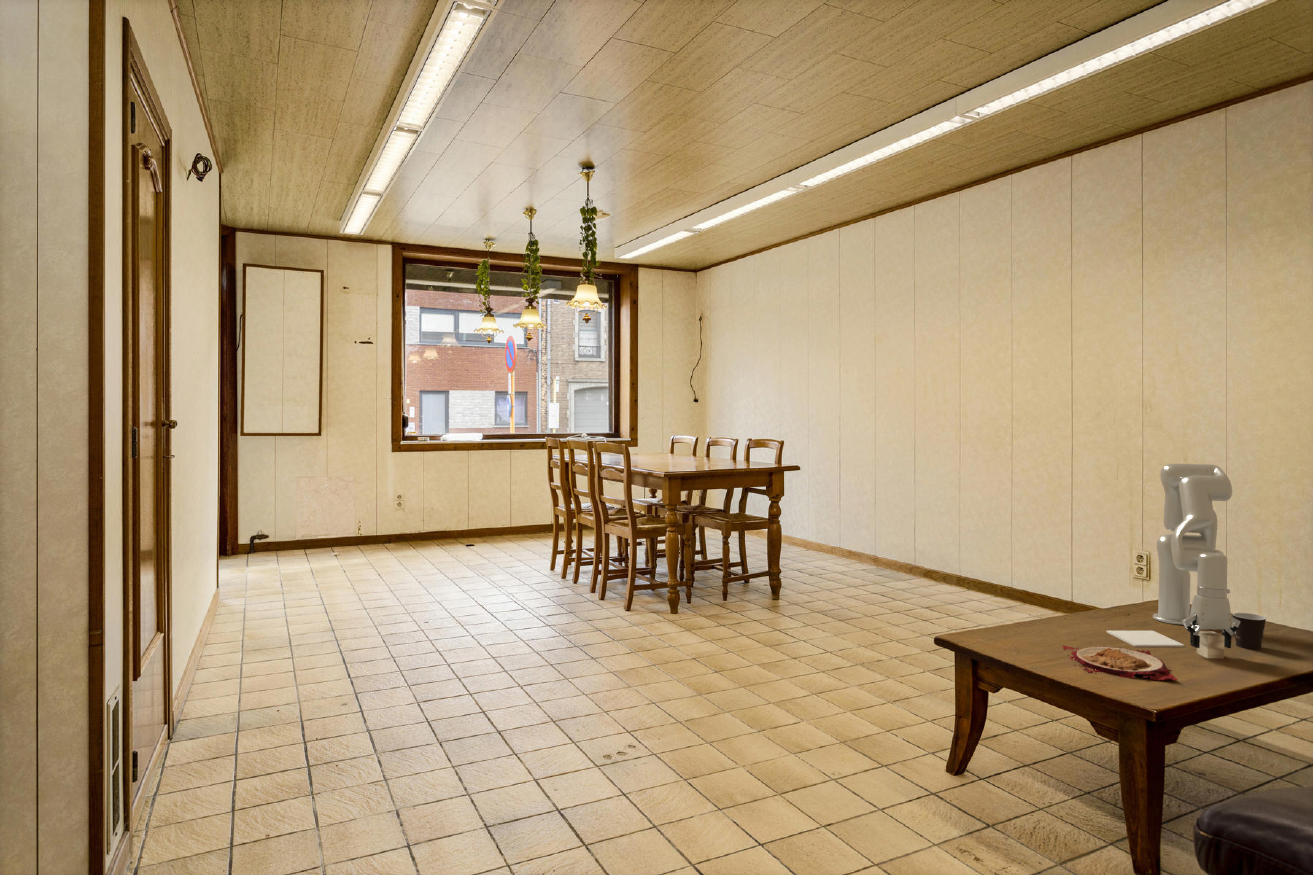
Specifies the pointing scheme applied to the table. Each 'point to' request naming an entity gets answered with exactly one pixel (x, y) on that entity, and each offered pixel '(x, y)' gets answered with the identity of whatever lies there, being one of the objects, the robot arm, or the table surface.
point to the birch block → (1211, 644)
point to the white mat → (1145, 639)
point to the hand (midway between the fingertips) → (1210, 646)
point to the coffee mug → (1249, 630)
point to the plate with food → (1121, 662)
